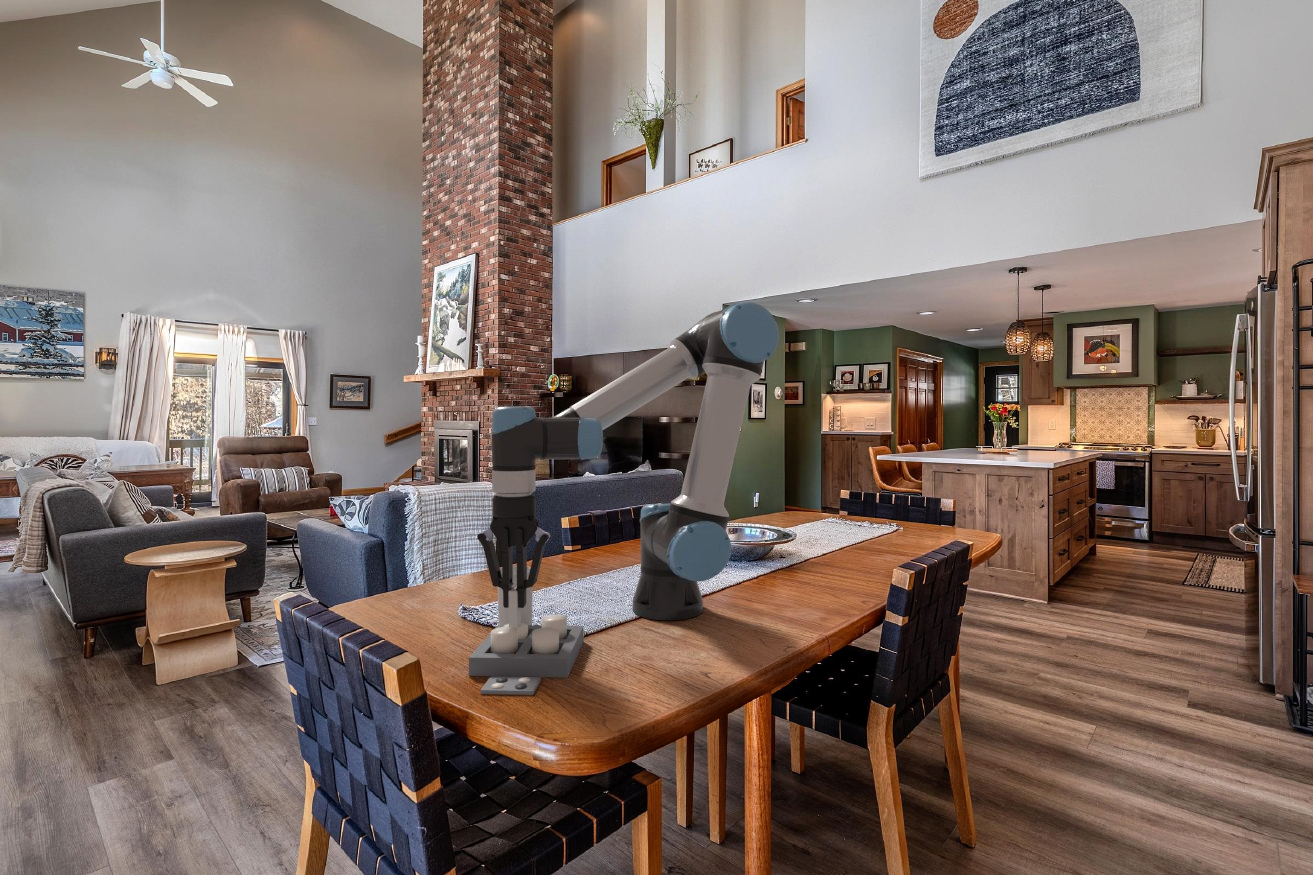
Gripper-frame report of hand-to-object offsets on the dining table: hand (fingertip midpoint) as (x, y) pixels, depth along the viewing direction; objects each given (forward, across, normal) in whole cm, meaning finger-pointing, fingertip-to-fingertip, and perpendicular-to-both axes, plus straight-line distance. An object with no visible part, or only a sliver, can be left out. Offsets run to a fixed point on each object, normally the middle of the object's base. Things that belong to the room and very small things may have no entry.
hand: (515, 625), depth 114 cm
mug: (+5, +3, -12) cm, 13 cm away
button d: (+2, 0, +7) cm, 7 cm away
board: (+5, -4, +4) cm, 7 cm away
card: (+5, -4, +16) cm, 17 cm away
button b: (+4, 0, 0) cm, 4 cm away
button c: (+2, -7, +7) cm, 10 cm away
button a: (+2, -7, 0) cm, 7 cm away
